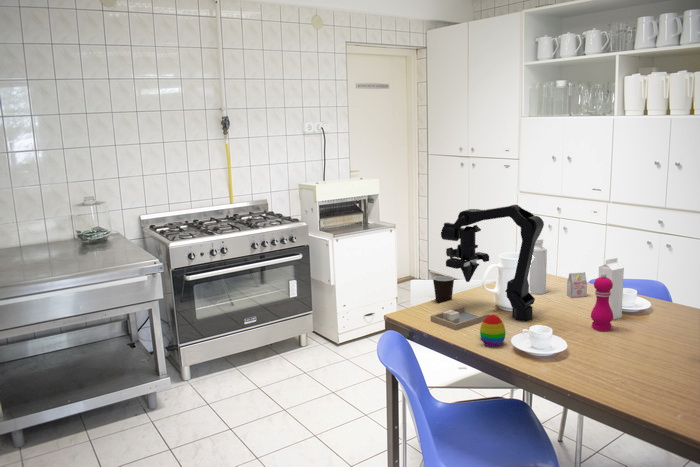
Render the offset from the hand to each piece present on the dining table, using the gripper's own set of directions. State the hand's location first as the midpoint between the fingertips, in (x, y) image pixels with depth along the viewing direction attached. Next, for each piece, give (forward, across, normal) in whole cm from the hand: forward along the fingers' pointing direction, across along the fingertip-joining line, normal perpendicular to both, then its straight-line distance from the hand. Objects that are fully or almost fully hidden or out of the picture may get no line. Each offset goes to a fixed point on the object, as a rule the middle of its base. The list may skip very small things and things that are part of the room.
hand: (467, 281), depth 222 cm
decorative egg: (+12, +19, +28) cm, 36 cm away
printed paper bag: (+12, -48, +17) cm, 52 cm away
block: (+11, +17, +8) cm, 22 cm away
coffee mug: (+13, -4, -16) cm, 21 cm away
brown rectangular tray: (+12, +13, +8) cm, 19 cm away
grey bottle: (+12, -41, +3) cm, 43 cm away
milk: (+12, -33, +40) cm, 53 cm away
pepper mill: (+12, -20, +44) cm, 50 cm away
